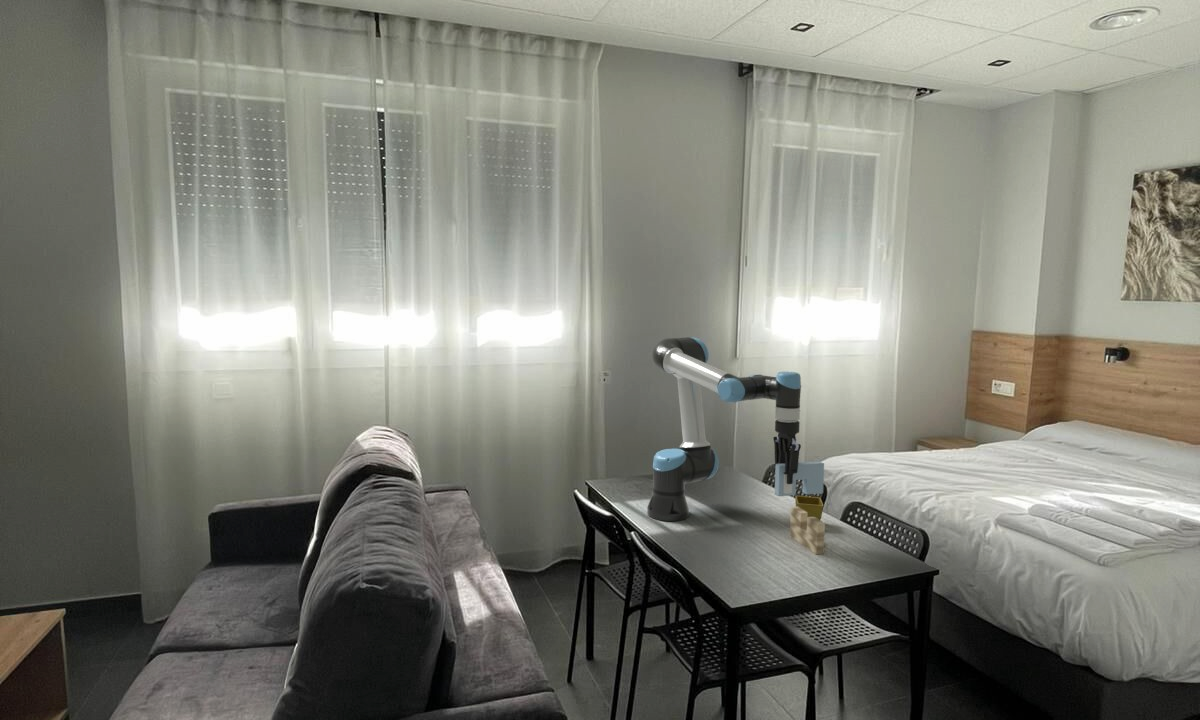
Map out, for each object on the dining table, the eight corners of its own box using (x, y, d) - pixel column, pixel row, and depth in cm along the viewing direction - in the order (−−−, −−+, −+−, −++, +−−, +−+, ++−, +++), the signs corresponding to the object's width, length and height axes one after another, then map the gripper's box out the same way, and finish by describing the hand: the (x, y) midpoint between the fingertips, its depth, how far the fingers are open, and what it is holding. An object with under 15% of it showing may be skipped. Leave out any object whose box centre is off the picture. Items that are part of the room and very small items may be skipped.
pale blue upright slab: (778, 496, 209) (779, 465, 208) (774, 494, 212) (775, 463, 211) (823, 493, 213) (824, 463, 212) (818, 491, 215) (819, 461, 214)
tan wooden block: (823, 554, 205) (825, 523, 204) (816, 554, 204) (817, 523, 203) (796, 535, 220) (797, 506, 219) (789, 535, 219) (791, 507, 218)
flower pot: (822, 530, 225) (823, 505, 224) (796, 528, 227) (797, 503, 226) (819, 521, 234) (820, 497, 233) (793, 519, 235) (795, 495, 235)
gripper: (811, 424, 202) (808, 498, 204) (785, 415, 217) (783, 484, 219) (789, 425, 200) (786, 499, 203) (765, 416, 216) (763, 485, 218)
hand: (785, 491), depth 211 cm, fingers closed on pale blue upright slab, 2 cm apart
